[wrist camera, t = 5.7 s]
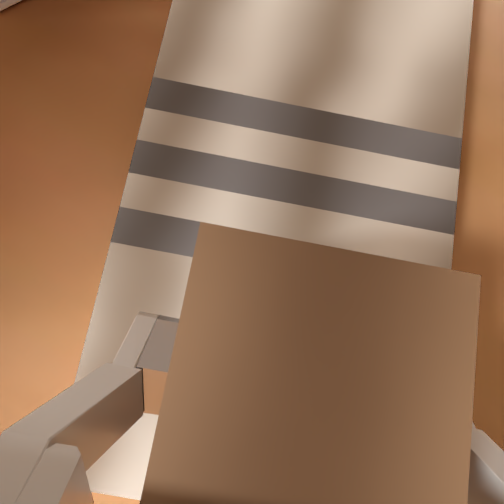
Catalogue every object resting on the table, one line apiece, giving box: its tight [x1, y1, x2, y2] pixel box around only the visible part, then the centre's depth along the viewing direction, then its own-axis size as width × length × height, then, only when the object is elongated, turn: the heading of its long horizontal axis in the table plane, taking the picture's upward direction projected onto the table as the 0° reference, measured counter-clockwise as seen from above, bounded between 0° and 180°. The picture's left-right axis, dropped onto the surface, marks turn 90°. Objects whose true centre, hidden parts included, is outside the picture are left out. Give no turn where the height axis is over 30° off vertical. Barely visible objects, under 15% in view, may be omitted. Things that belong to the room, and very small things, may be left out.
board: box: [74, 0, 474, 500], centre depth 15 cm, size 14×26×2 cm, turn 170°
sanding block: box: [140, 222, 481, 504], centre depth 9 cm, size 5×6×8 cm
